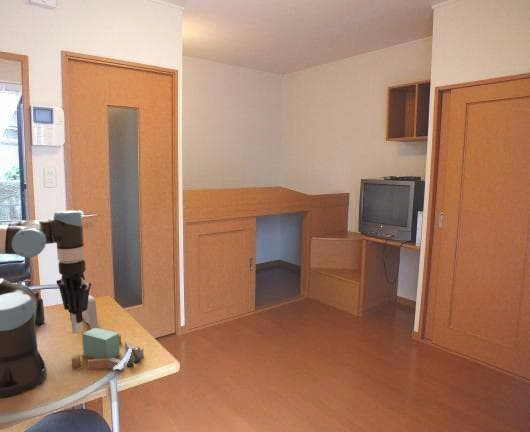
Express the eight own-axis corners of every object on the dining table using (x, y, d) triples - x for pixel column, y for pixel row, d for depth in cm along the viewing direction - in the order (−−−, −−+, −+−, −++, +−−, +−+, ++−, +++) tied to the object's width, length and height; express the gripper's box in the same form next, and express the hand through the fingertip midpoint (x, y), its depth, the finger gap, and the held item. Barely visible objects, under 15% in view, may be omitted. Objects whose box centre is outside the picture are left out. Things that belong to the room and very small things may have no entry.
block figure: (108, 378, 109) (108, 370, 109) (70, 366, 115) (69, 359, 115) (153, 349, 126) (152, 342, 125) (117, 340, 132) (117, 334, 131)
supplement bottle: (49, 320, 149) (46, 289, 147) (36, 327, 142) (34, 295, 140) (32, 319, 150) (29, 289, 148) (19, 326, 143) (16, 295, 141)
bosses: (130, 368, 114) (129, 355, 114) (125, 366, 115) (124, 354, 115) (142, 360, 119) (141, 348, 118) (137, 359, 120) (136, 346, 119)
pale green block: (107, 361, 118) (105, 339, 117) (83, 355, 122) (82, 333, 122) (119, 354, 123) (118, 333, 122) (96, 348, 127) (95, 327, 126)
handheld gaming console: (89, 320, 154) (99, 328, 141) (82, 322, 152) (90, 330, 140) (87, 292, 153) (96, 298, 141) (79, 293, 152) (87, 299, 140)
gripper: (96, 259, 123) (101, 330, 127) (67, 255, 129) (73, 323, 132) (76, 265, 117) (82, 340, 120) (46, 260, 122) (53, 332, 125)
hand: (77, 331), depth 126 cm, fingers closed
